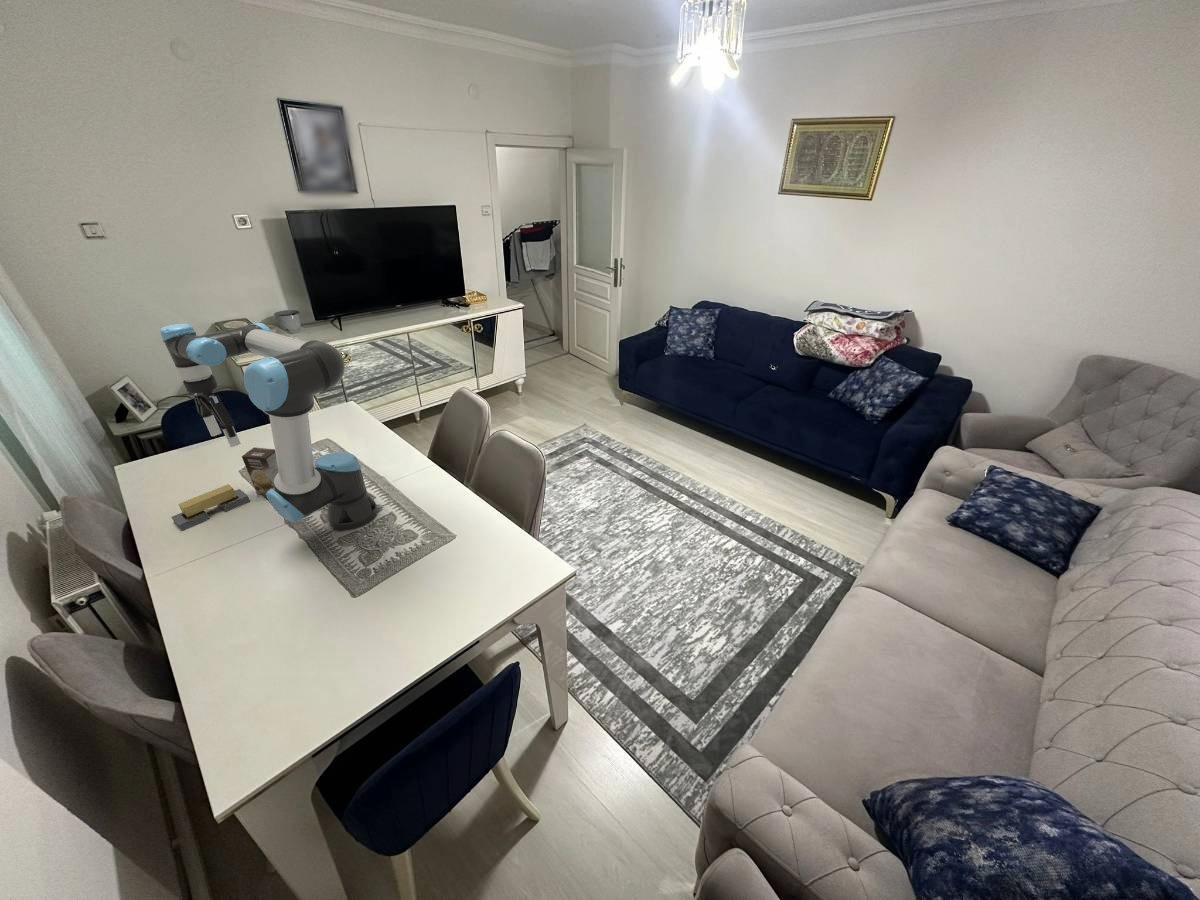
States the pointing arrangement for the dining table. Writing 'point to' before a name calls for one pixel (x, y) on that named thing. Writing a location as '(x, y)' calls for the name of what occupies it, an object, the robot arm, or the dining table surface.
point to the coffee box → (261, 468)
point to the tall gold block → (207, 501)
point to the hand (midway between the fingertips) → (225, 440)
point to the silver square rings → (203, 516)
